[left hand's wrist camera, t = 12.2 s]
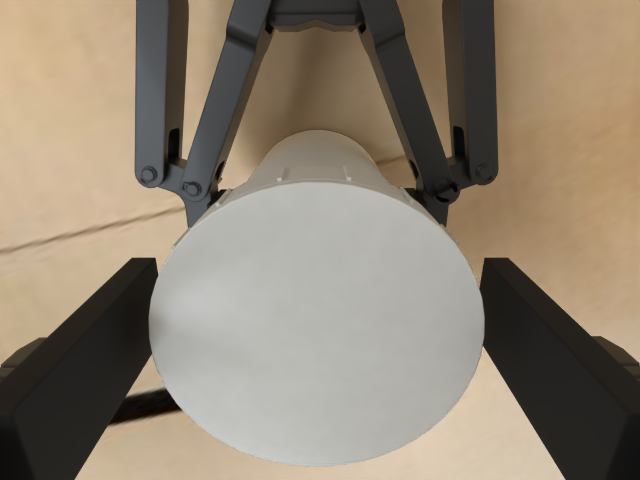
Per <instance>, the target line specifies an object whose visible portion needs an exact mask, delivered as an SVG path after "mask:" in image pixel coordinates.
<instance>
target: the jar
mask: <svg viewBox="0 0 640 480" xmlns="http://www.w3.org/2000/svg"><path fill="white" fill-rule="evenodd" d="M284 166H286V169H289V168H296V167H304V166H330V167H337V168H343V166H348V169H351V170H354V171H358V172H362V173H366V174H369V175H372V176H374V177H376V178H379V179H381V180H384V181H386V182H388V181H387V179H386V178H385V177H384V175H383V174H382V172H381V171H380V169H379V168H378V167H377V165H376V164H375V162H374V161H373V160H372V158H371V157H370V155H369V154H368V153H367V152H366V151H365V150H364V149H363V147H361V146H360V145H359V144H358V143H356V142H355V141H354V140H352V139H350V138H349V137H347V136H344V135H342V134H340V133H336V132H333V131H327V130H308V131H303V132H299V133H295V134H293V135H291V136H289V137H287V138H285V139H283V140H282V141H280V142H279V143H277V144H276V145H275V146H274V147H273V148H272V149H271V150H270V151H269V152H268V153H267V154H266V156H265V157H264V158H263V160H262V161H261V163H260V164H259V165H258V167H257V168H256V170H255V171H254V172H253V174H252V175H251V176H250V178H249V179H248V181H250V180H252V179H255V178H257V177H260V176H262V175H265V174H268V173H272V172H276V171H279V170H281V168H282V167H284ZM248 181H247V182H248ZM388 183H389V182H388Z"/></svg>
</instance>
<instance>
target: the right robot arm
mask: <svg viewBox="0 0 640 480" xmlns="http://www.w3.org/2000/svg"><path fill="white" fill-rule="evenodd" d="M442 19H443V34H444V48H445V62H446V77H447V91H448V105H449V120H450V134H451V149H452V156H451V157H449V158H446V156H445V153H444V150H443V147H442V144H441V141H440V138H439V136H438V133H437V130H436V127H435V124H434V121H433V118H432V115H431V112H430V109H429V106H428V103H427V100H426V97H425V94H424V91H423V88H422V85H421V82H420V79H419V77H418V74H417V71H416V68H415V65H414V62H413V59H412V56H411V53H410V50H409V47H408V44H407V41H406V38H405V28H404V23H403V20H402V17H401V14H400V11H399V8H398V5H397V2H396V0H235V1H234V4H233V7H232V10H231V13H230V17H229V20H228V24H227V28H226V39H225V43H224V46H223V49H222V52H221V56H220V59H219V62H218V65H217V68H216V71H215V74H214V78H213V81H212V84H211V87H210V90H209V93H208V96H207V100H206V103H205V106H204V109H203V112H202V115H201V118H200V122H199V125H198V128H197V131H196V134H195V137H194V140H193V143H192V147H191V150H190V153H189V156H188V159H187V160H185V159H182V139H183V120H184V100H185V80H186V61H187V41H188V22H189V6H188V0H136V89H135V176H136V179H137V180H138V182H139V183H140V184H141V185H143V186H145V187H147V188H155V187H159V188H162V189H165V190H169V191H172V192H174V193H176V194H177V195H179V196H180V197H181V199H182V200H183V202H184V204H185V208H186V215H187V223H188V228H189V227H191V228H192V227H193V225H194V224H195V223H196V222H197V221H198V220H199V219H200V218H201V217H202V215H203V214H204V213H205V212H206V211H207V210H208V209H209V208H210V207H211V206H212V205H213V204H214V203H216V202H217V201H218V200H219V199H220V198H221V196H222V195H223V194H224V193H225V192H226V190H228V189H222V190H220V191H219V192H218V184H219V183H220V182H221V180H222V178H221V175H222V172H223V169H224V167H225V164H226V161H227V158H228V155H229V153H230V150H231V147H232V144H233V141H234V138H235V136H236V133H237V130H238V127H239V124H240V121H241V119H242V116H243V113H244V110H245V107H246V104H247V102H248V99H249V96H250V93H251V90H252V88H253V85H254V82H255V79H256V76H257V73H258V71H259V68H260V65H261V62H262V59H263V57H264V55H265V53H266V51H267V49H268V47H269V44H270V41H271V39H272V36H273V33H274V30H275V29H278V31H279V32H299V31H302V30H305V29H308V28H311V27H315V26H316V27H320V28H324V29H327V30H331V31H334V32H349V31H353V29H355V28H357V30H358V33H359V36H360V38H361V41H362V44H363V46H364V48H365V50H366V52H367V54H368V56H369V58H370V61H371V64H372V66H373V69H374V72H375V74H376V77H377V80H378V82H379V85H380V88H381V90H382V93H383V96H384V98H385V101H386V104H387V106H388V109H389V112H390V114H391V117H392V120H393V122H394V125H395V128H396V130H397V133H398V136H399V138H400V141H401V144H402V146H403V149H404V152H405V154H406V157H407V160H408V162H409V165H410V168H411V170H412V173H413V176H414V178H415V181H416V190H415V189H414V188H404V189H405V190H406V192H407V193H408V194H409V195H410V196H411V197H412V198H413V199H414V200H416V201H417V202H418V203H419V204H421V205H422V206H423V207H424V208H425V209H426V210H427V211H428V213H429V214H430V215H431V216H432V217H433V218H434V219H435V220H436V221H437V222H438V224H439V225H440V224H443V226H444V227H445V228H446V224H447V215H448V206H449V204H451V203H453V202H454V201H456V199H457V198H458V197H459V194H460V190H461V189H464V188H467V187H470V186H473V185H475V184H478V185H487V184H489V183H491V182H492V181H493V180H494V179H495V178H496V176H497V174H498V141H497V105H496V70H495V35H494V0H443V1H442ZM232 190H233V189H231V191H232Z"/></svg>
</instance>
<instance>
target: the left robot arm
mask: <svg viewBox="0 0 640 480" xmlns="http://www.w3.org/2000/svg"><path fill="white" fill-rule="evenodd" d="M157 278H158V271H157V265H156V258H131V259H130V260H129V261H128V262H127V263H126V264H125V265H124V266H123V267H122V268H121V269H120V270H119V271H117V272H116V273H115V274H114V275H113V276H112V277H111V278H110V279H109V280H108V281H107V282H106V283H105V284H104V285H103V286H102V287H100V288H99V289H98V290H97V291H96V292H95V293H94V294H93V295H92V296H91V297H90V298H89V299H88V300H87V301H86V302H85V303H83V304H82V305H81V306H80V307H79V308H78V309H77V310H76V311H75V312H74V313H73V314H72V315H71V316H70V317H69V318H68V319H67V320H65V321H64V322H63V323H62V324H61V325H60V326H59V327H58V328H57V329H56V330H55V331H54V332H53V333H52V334H51V335H50V336H48V337H47V338H38V339H36V340H35V341H33V342H31V343H29V344H27V345H26V346H24V347H22V348H20V349H19V350H17V351H16V352H15V353H14V354H13V355H11V356H10V357H9V358H8V359H7V360H6V361H5V362H4V363H3V364H1V367H0V480H75V478H76V476H77V475H78V473H79V471H80V470H81V468H82V467H83V465H84V463H85V462H86V460H87V458H88V457H89V455H90V454H91V452H92V450H93V449H94V447H95V445H96V444H97V442H98V441H99V439H100V437H101V436H102V434H103V432H104V431H105V429H106V428H107V426H108V424H109V423H110V421H111V419H112V418H113V416H114V415H115V413H116V411H117V410H118V408H119V406H120V405H121V403H122V402H123V400H124V398H125V397H126V395H127V393H128V392H129V390H130V389H131V387H132V385H133V384H134V382H135V380H136V379H137V377H138V376H139V374H140V372H141V371H142V369H143V367H144V366H145V364H146V363H147V361H148V359H149V358H150V356H151V354H152V350H151V345H150V339H149V311H150V303H151V297H152V294H153V290H154V287H155V284H156V280H157ZM480 293H481V296H482V301H483V308H484V316H485V325H484V341H483V346H484V348H485V350H486V351H487V353H488V354H489V356H490V358H491V359H492V361H493V363H494V364H495V366H496V367H497V369H498V371H499V372H500V374H501V376H502V377H503V379H504V380H505V382H506V384H507V385H508V387H509V389H510V390H511V392H512V393H513V395H514V397H515V398H516V400H517V402H518V403H519V405H520V406H521V408H522V410H523V411H524V413H525V415H526V416H527V418H528V419H529V421H530V423H531V424H532V426H533V428H534V429H535V431H536V432H537V434H538V436H539V437H540V439H541V441H542V442H543V444H544V445H545V447H546V449H547V450H548V452H549V454H550V455H551V457H552V458H553V460H554V462H555V463H556V465H557V467H558V468H559V470H560V471H561V473H562V475H563V476H564V478H565V480H640V365H639V362H637V361H636V360H635V359H634V358H633V357H632V356H631V355H629V354H628V353H627V352H626V351H625V350H624V349H623V348H621V347H619V346H617V345H615V344H614V343H612V342H610V341H608V340H607V339H605V338H603V337H601V336H590V335H589V334H588V333H587V332H586V331H585V330H584V329H583V328H582V327H581V326H580V325H579V324H578V323H577V322H576V321H575V320H573V319H572V318H571V317H570V316H569V315H568V314H567V313H566V312H565V311H564V310H563V309H562V308H561V307H560V306H559V305H558V304H557V303H555V302H554V301H553V300H552V299H551V298H550V297H549V296H548V295H547V294H546V293H545V292H544V291H543V290H542V289H541V288H540V287H538V286H537V285H536V284H535V283H534V282H533V281H532V280H531V279H530V278H529V277H528V276H527V275H526V274H525V273H524V272H523V271H521V270H520V269H519V268H518V267H517V266H516V265H515V264H514V263H513V262H512V261H511V260H510V259H509V258H484V265H483V271H482V277H481V283H480Z"/></svg>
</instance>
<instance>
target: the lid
mask: <svg viewBox="0 0 640 480" xmlns="http://www.w3.org/2000/svg"><path fill="white" fill-rule="evenodd" d="M458 245H459V243H458V242H457V240H456V239H455V238H454V237H453V236H452V235H451V234H450V232H449V231H448V230H447V229H446V228H445V227H444V226H443V224H440V225H439V224H438V222H437V221H436V220H435V219H434V218H433V217H432V216H431V215H430V214H429V213H428V211H427V210H426V209H425V208H424V207H423V206H422V205H421V204H419V203H418V202H417V201H416V200H414V199H413V198H412V197H411V196H410V195H409V194H408V193H407V192H406V190H405V189H404V188H403V187H401V186H400V187H399V188H397V187H395V186H394V185H392V184H390V183H388V182H386V181H384V180H381V179H379V178H376V177H374V176H372V175H369V174H366V173H362V172H358V171H354V170H351V169H348V166H343V168H337V167H330V166H304V167H296V168H289V169H286V166H284V167H282V168H281V170H279V171H276V172H272V173H268V174H265V175H262V176H260V177H257V178H255V179H252V180H250V181H248V182H245V183H244V184H242V185H240V186H238V187H237V188H235V189H233V190H232V191H231V189H230V188H229V189H228V190H226V192H225V193H224V194H223V195H222V196H221V198H220V199H219V200H218V201H217V202H216V203H214V204H213V205H212V206H211V207H210V208H209V209H208V210H207V211H206V212H205V213H204V214H203V215H202V217H201V218H200V219H199V220H198V221H197V222H196V223H195V224H194V225H193V227H192V228H191V227H189V228H188V229H187V230H186V232H185V233H184V234H183V235H182V236H181V237H180V238H179V239H178V241H177V242H176V243H175V244H174V245H173V246H172V249H174V250H173V251H172V253H171V254H170V255H169V257H168V258H167V260H166V261H165V263H164V265H163V268H162V270H161V272H160V274H159V276H158V278H157V280H156V284H155V287H154V290H153V294H152V297H151V303H150V311H149V339H150V345H151V350H152V355H153V358H154V361H155V364H156V367H157V370H158V373H159V375H160V377H161V379H162V381H163V383H164V385H165V387H166V388H167V390H168V391H169V393H170V394H171V396H172V397H173V399H174V400H175V402H176V403H177V404H178V405H179V406H180V408H181V409H182V410H183V411H184V412H185V413H186V414H187V415H188V416H189V418H191V419H192V420H193V421H194V422H195V423H196V424H198V425H199V426H200V427H201V428H202V429H203V430H205V431H206V432H208V433H209V434H211V435H212V436H214V437H215V438H216V439H218V440H220V441H221V442H223V443H225V444H227V445H229V446H231V447H233V448H235V449H237V450H239V451H242V452H244V453H247V454H249V455H252V456H255V457H258V458H261V459H265V460H268V461H272V462H278V463H283V464H288V465H298V466H335V465H345V464H351V463H356V462H361V461H365V460H369V459H372V458H375V457H378V456H382V455H384V454H387V453H389V452H391V451H394V450H396V449H399V448H401V447H403V446H404V445H406V444H408V443H410V442H412V441H414V440H415V439H417V438H418V437H420V436H421V435H423V434H424V433H426V432H427V431H428V430H430V429H431V428H432V427H433V426H435V425H436V424H437V423H438V422H439V421H440V420H441V419H443V418H444V417H445V416H446V415H447V413H448V412H449V411H450V410H451V409H452V408H453V407H454V406H455V405H456V403H457V402H458V401H459V399H460V398H461V396H462V395H463V393H464V392H465V390H466V389H467V387H468V385H469V383H470V381H471V379H472V377H473V375H474V373H475V371H476V368H477V365H478V362H479V359H480V356H481V352H482V346H483V341H484V325H485V316H484V308H483V301H482V296H481V293H480V289H479V286H478V283H477V280H476V277H475V275H474V273H473V271H472V269H471V267H470V265H469V263H468V261H467V259H466V258H465V256H464V255H463V254H462V252H461V251H460V249H459V248H458Z"/></svg>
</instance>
